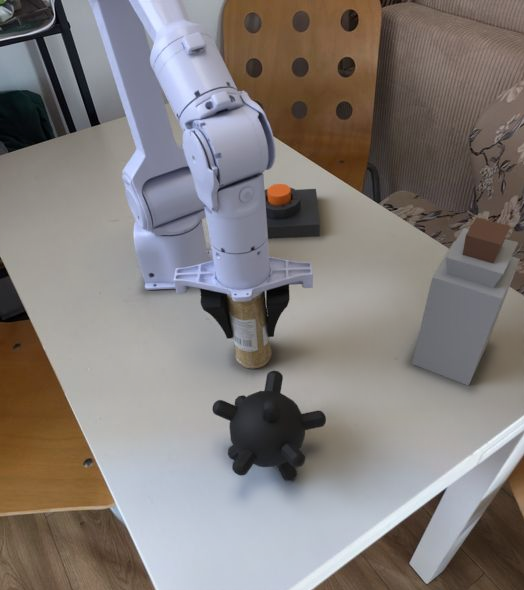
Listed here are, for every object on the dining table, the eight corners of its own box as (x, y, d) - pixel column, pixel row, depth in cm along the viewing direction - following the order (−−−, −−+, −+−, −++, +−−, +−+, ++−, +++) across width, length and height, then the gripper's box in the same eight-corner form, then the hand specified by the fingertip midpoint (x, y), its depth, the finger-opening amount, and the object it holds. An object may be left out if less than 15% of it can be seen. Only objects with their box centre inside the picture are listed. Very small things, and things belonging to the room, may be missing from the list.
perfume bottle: (468, 385, 59) (516, 261, 46) (412, 363, 62) (441, 240, 48) (486, 347, 63) (534, 221, 49) (431, 328, 65) (464, 203, 52)
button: (267, 207, 80) (267, 197, 78) (267, 194, 82) (267, 184, 81) (291, 205, 79) (290, 195, 78) (290, 193, 82) (290, 183, 80)
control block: (242, 240, 80) (239, 217, 77) (244, 203, 87) (242, 182, 84) (319, 236, 80) (320, 214, 77) (315, 200, 86) (316, 178, 83)
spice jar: (279, 355, 64) (274, 270, 54) (252, 376, 62) (242, 292, 52) (253, 337, 66) (244, 252, 56) (227, 356, 64) (212, 273, 54)
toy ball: (295, 368, 59) (364, 422, 50) (253, 447, 60) (313, 513, 51) (221, 344, 52) (286, 402, 43) (177, 433, 54) (230, 507, 45)
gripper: (160, 265, 49) (185, 359, 59) (315, 258, 48) (313, 354, 58) (169, 221, 53) (191, 315, 63) (310, 214, 52) (310, 310, 63)
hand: (250, 331), depth 61 cm, fingers closed on spice jar, 4 cm apart
